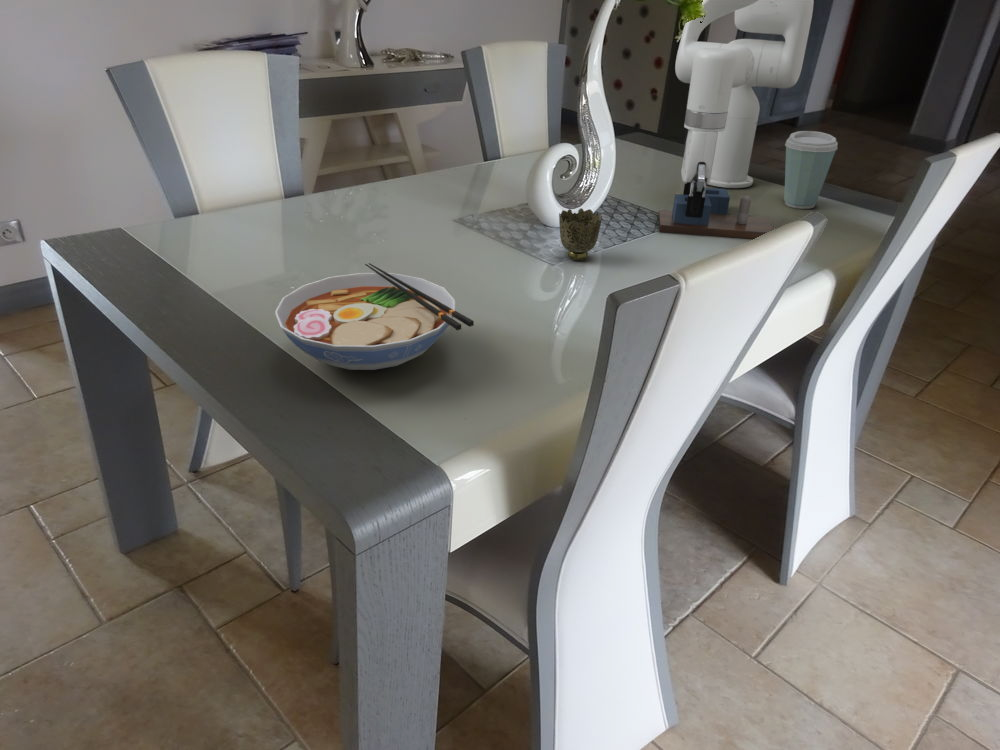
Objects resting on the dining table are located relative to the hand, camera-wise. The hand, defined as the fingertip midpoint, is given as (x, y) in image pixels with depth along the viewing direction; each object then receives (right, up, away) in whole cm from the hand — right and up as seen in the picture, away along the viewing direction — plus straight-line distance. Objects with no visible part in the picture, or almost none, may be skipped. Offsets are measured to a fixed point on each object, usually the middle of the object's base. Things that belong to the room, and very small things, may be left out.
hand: (691, 209), depth 148 cm
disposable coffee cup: (+28, +4, +17) cm, 33 cm away
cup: (-24, -12, -15) cm, 31 cm away
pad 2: (+7, +2, +11) cm, 13 cm away
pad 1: (0, -2, +1) cm, 2 cm away
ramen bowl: (-55, -31, -49) cm, 80 cm away
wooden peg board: (+5, -4, +1) cm, 6 cm away
